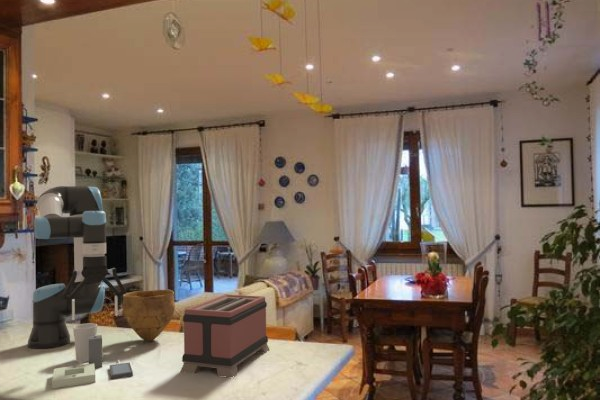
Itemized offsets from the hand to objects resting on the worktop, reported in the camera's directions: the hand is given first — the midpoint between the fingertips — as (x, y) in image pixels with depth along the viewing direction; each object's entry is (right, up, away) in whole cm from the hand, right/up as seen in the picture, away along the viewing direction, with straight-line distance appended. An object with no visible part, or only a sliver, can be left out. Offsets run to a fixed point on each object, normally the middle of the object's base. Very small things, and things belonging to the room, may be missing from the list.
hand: (95, 317), depth 167 cm
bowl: (+9, -17, +31) cm, 36 cm away
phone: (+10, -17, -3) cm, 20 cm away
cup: (-7, -17, +8) cm, 20 cm away
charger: (0, -17, 0) cm, 17 cm away
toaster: (+46, -17, +6) cm, 49 cm away
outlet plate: (-1, -17, -12) cm, 21 cm away
